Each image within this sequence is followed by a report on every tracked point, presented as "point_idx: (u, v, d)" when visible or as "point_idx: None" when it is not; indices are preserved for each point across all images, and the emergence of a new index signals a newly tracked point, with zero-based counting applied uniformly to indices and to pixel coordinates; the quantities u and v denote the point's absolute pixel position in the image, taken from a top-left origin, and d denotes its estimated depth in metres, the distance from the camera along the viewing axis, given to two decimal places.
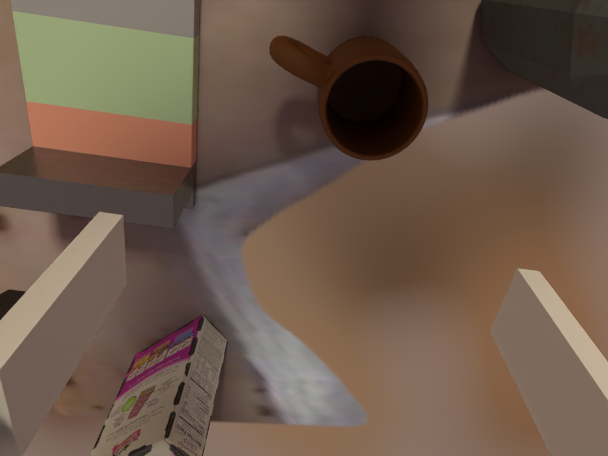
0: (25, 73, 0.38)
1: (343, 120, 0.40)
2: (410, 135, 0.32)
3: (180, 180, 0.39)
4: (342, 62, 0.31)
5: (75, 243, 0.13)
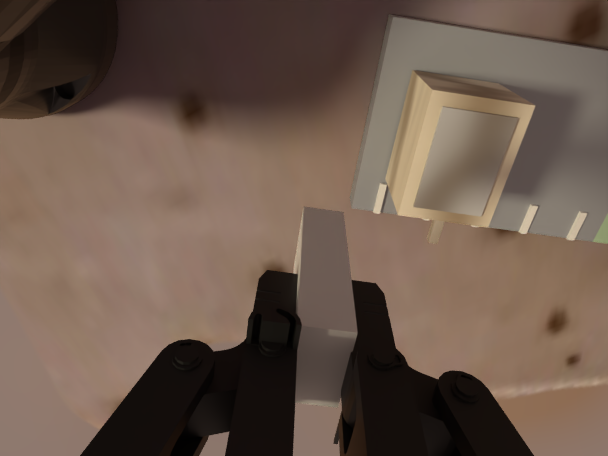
0: None
1: None
2: None
3: None
4: None
5: (305, 232, 0.15)
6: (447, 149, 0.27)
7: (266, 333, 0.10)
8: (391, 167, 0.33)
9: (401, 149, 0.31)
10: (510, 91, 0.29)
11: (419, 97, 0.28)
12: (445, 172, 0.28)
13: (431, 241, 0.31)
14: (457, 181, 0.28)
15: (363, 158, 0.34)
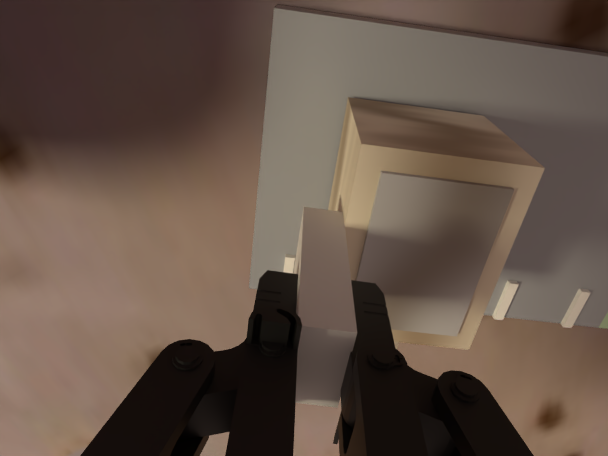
0: None
1: None
2: None
3: None
4: None
5: (306, 232, 0.15)
6: (394, 239, 0.16)
7: (266, 334, 0.10)
8: None
9: None
10: (501, 133, 0.18)
11: (350, 148, 0.17)
12: (394, 274, 0.17)
13: None
14: (415, 287, 0.17)
15: (256, 221, 0.23)
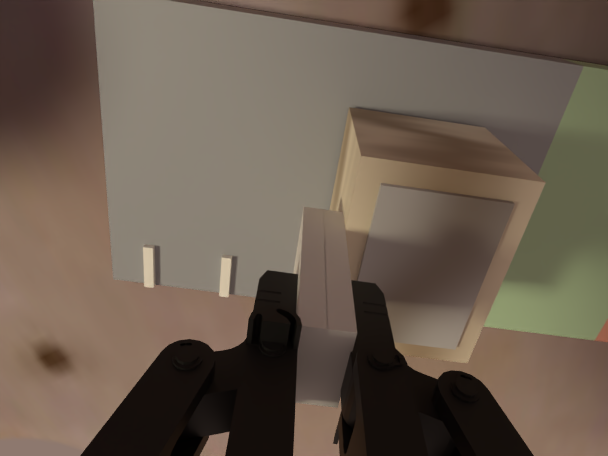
0: (556, 331, 0.26)
1: None
2: None
3: None
4: None
5: (306, 232, 0.15)
6: (393, 252, 0.16)
7: (266, 333, 0.10)
8: None
9: None
10: (502, 146, 0.18)
11: (350, 159, 0.17)
12: (393, 286, 0.17)
13: None
14: (414, 299, 0.17)
15: (110, 209, 0.23)
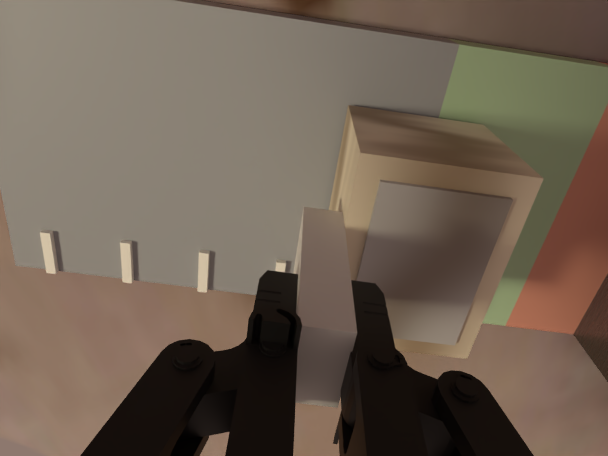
0: None
1: None
2: None
3: None
4: None
5: (306, 232, 0.15)
6: (393, 248, 0.16)
7: (266, 334, 0.10)
8: None
9: None
10: (501, 143, 0.18)
11: (349, 156, 0.17)
12: (392, 282, 0.17)
13: None
14: (413, 296, 0.17)
15: (3, 194, 0.22)
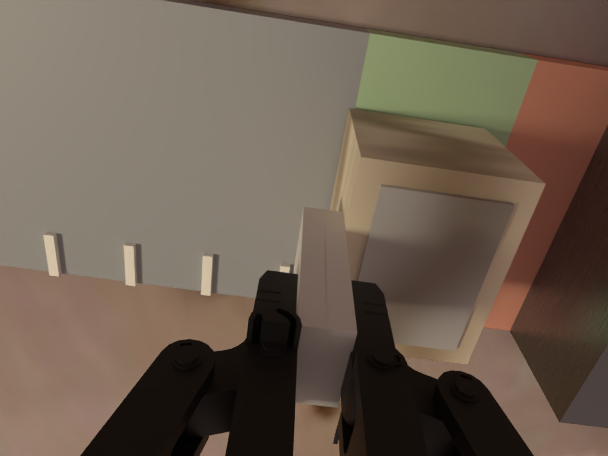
0: None
1: None
2: None
3: None
4: None
5: (306, 232, 0.15)
6: (393, 253, 0.16)
7: (266, 334, 0.10)
8: None
9: None
10: (502, 147, 0.18)
11: (350, 160, 0.17)
12: (392, 287, 0.17)
13: None
14: (413, 301, 0.17)
15: None
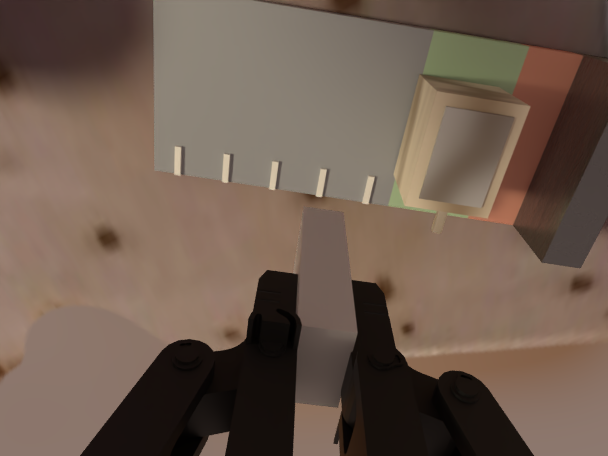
0: None
1: None
2: None
3: (604, 64, 0.30)
4: None
5: (305, 232, 0.15)
6: (450, 145, 0.30)
7: (266, 333, 0.10)
8: (399, 163, 0.36)
9: (408, 146, 0.34)
10: (508, 94, 0.32)
11: (425, 98, 0.31)
12: (448, 166, 0.31)
13: (435, 231, 0.34)
14: (459, 175, 0.31)
15: (155, 121, 0.37)
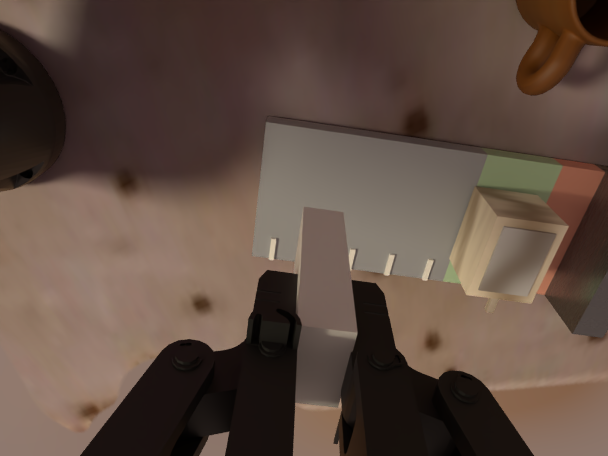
0: None
1: (602, 4, 0.36)
2: None
3: None
4: (566, 21, 0.30)
5: (306, 232, 0.15)
6: (505, 253, 0.38)
7: (266, 334, 0.10)
8: (456, 252, 0.45)
9: (466, 244, 0.42)
10: (548, 207, 0.40)
11: (484, 213, 0.40)
12: (503, 268, 0.39)
13: (488, 311, 0.42)
14: (511, 273, 0.39)
15: (256, 219, 0.45)
